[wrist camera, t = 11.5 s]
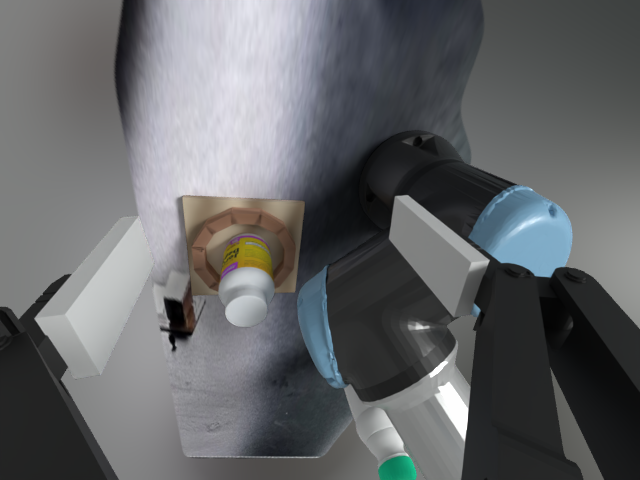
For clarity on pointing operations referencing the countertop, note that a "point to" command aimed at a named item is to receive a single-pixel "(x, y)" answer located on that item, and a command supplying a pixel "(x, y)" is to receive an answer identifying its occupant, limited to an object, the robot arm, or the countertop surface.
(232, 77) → the countertop surface
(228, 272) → the supplement bottle
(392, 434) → the water bottle
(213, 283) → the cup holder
